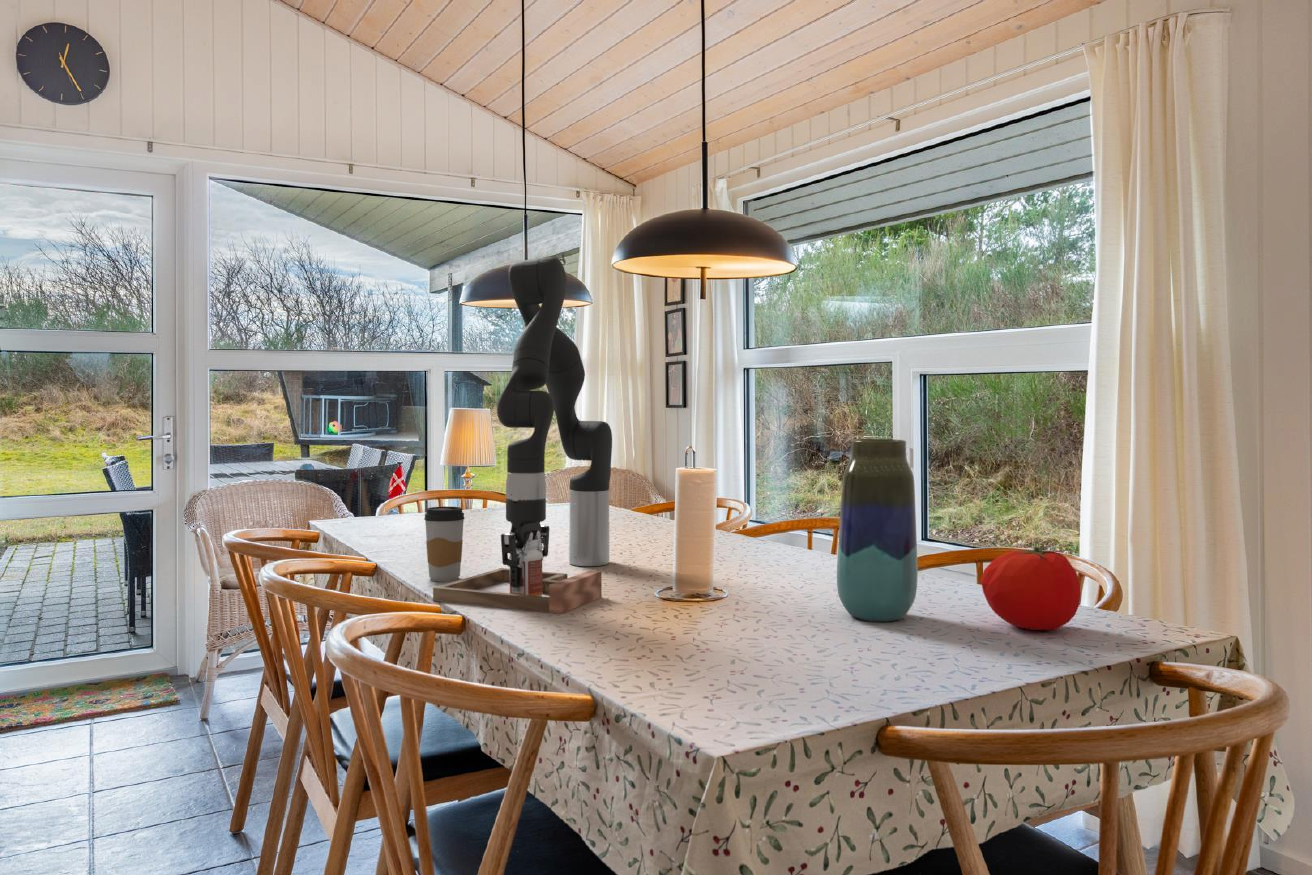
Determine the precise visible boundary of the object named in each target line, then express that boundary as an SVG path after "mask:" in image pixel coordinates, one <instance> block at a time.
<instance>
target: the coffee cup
mask: <svg viewBox="0 0 1312 875" xmlns="http://www.w3.org/2000/svg"><path fill="white" fill-rule="evenodd" d="M464 520H465V512H463V508H462V507H460V506H431V507H427V508H426V511H425V513H424V522H425V535H426V542H425V544H426V558H427V563H428V577H429V578H430V581H432V582H455V581H458V580H460V579H459V578H460V576H461V564H462V558H463V557H462V555H463V553H462V552H463V543H464V542H463V537H464V536H463V535H464Z"/></svg>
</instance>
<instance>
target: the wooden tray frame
mask: <svg viewBox="0 0 1312 875" xmlns="http://www.w3.org/2000/svg"><path fill="white" fill-rule="evenodd" d="M602 575H603V573H602V571H601V570H593V569H592V570H590V569H589V570H587V571H583V572H581V573H578V574H576V575H572V576H570V577H568V573H563V572H560V573H559V572H551V571H550V572H549V571H548V572H547V571H542V594H545V595H547V594H548V596H543V595H542V596H531V595H521V594H511V593H510V592H501V591H500V592H499V591H488V590H481V589H482V588H485V587H488V586H489V587H490V586H491V585H495V584H497V583H501V582H508V583H510V568H506V567H505V568H502V567H500V568H497V569H493V570H489V571H487V572H483V573H479V574H475V575H472V576H470V577H465V578H462V579H457V580H454V581H450V582H449V583H448V582H447V583H444V584H441V585H438V586H434V587H432V601H437V602H444V603H445V602H446V603H454V604H463V605H474V606H483V607H491V608H492V607H493V608H502V609H510V610H511V609H512V610H522V611H530V612H541V613H542V612H543V613H549V614H559V615H562V614H565V613H567V612H569V611H572V610H575V609H576V608H579V607H581V606H584V605H586V604H588V603H591V602H593V601H596V600H598V599H601V598H602V596H603V595H602V593H603V592H602V588H603V587H602V584H603V583H602V582H603V581H602V577H603V576H602Z"/></svg>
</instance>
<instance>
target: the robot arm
mask: <svg viewBox="0 0 1312 875" xmlns="http://www.w3.org/2000/svg"><path fill="white" fill-rule="evenodd" d="M566 273H567V272H566V269H565V267H564V264H563V263H562V261H561V260H560V258H558V257H556V256H554V257H553V256H546V257H538V258H530V259H524V260H518V261H515V262H513V263H512V264H511V265H510V266H509V268H508V281H509V287H510V291H511V294H512V296H513V299H514V302H515V303H516V306H517V308H518V311H519V313H520V316H521V318H522V320H523V322H524V325H525V328H524V330H523V331H522V332H521V334H520V335H519V337H518V339H517V340H516V343H515V348H514V352H513V358H512V359H513V360H512V367H511V372H510V375H509V377H508V379H507V383H506V385H505V387H504V388H503V390H502V392H501V394H500V396H499V399H498V401H497V407H496V414H497V418H498V420H499V422H500V423H501V425H502V426H504V427H506V428H511V429H512V428H514V429H515V428H517V429H518V428H519V429H521V428H522V429H523V428H525V429H532V428H533V430H534V431H533V433H532V434H531V435H530V436H529V437H528V438H525V439H520V440H514V441H512V442H510V443H509V444H508V446H507V451H506V455H507V458H506V459H507V460H506V464H507V466H506V468H507V469H506V470H507V471H506V472H507V473H506V480H505V481H506V482H505V519H506V521H507V522H510V524H511V527H510V532H508V533H501V535H500V542H501V543H500V544H501V546H500V547H501V558H502V561H501V562H502V565H503V566H507V567H509V569H510V582H509V586H510V585H511V587H516V588H519V587H522V568H521V567H522V564H523V560H524V557H525V556H527V553H528V549H529V543H530V542H531V541H532V540H533V539H538V547H537V550H538V551H540V552H541V554H542V562H543V561H544V557H548V555H549V544H550V543H549V541H550V526H549V525H541V523H542V522H544V521H545V520H546V518H547V483H546V482H547V481H546V474H545V470H546V469H545V467H546V466H545V465H546V464H545V462H546V460H545V454H546V445H547V438H548V434H549V430H550V428H551V427H550V426H551V423H552V420H553V417H554V416H555V419H556V424H557V428H558V432H559V433H558V434H559V438H560V441H561V445H562V449H563V452H564V453H565V455H566V457H568V458H569V459H570V460H573V461H586V462H587V461H589V462H591V463H590V466H589V468H588V469H587V470H586V471H584V472H583V473H581V474H578V475H577V474H576V475H574V476H572V477H571V478H570V479H569V539H568V540H569V545H568V546H569V549H568V550H569V554H568V555H569V556H568V558H569V559H568V560H569V564H570V565H572V566H576V567H577V566H578V567H579V566H580V567H597V566H605V565H608V564H609V563H610V480H611V472H612V454H613V453H612V452H613V433H612V429H611V426H610V425H609V423H608V422H606V421H602V420H601V421H599V420H580V419H579V418H578V417H577V413H576V407H575V406H576V402H577V400H578V397H579V395H580V394H581V393H580V392H581V390H582V388H583V385H584V383H585V378H586V373H585V372H586V371H585V368H584V367H585V366H584V364H583V361H582V357H581V354H580V351H579V348H578V346H577V345H576V343H575V342H574V341H573V340H572V339H571V338H570V337H569V336H568V335H567V334H566V333H565V332H563V331H562V330H561V329H560V328H559V327H558V323H559V319H560V316H561V312H562V308H563V306H564V301H565V298H566V293H567V284H568V283H567V274H566ZM544 386H546V389H547V391H544V390H538V389H540V388H542V387H544ZM516 548H520V549H522V550H516ZM508 555H509V556H508ZM517 555H519V557H518V561H517Z"/></svg>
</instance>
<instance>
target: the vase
mask: <svg viewBox="0 0 1312 875" xmlns="http://www.w3.org/2000/svg"><path fill="white" fill-rule="evenodd" d="M850 450H851V453H850V456H851V457H850V459H849V461H848V463H847V465H846V468H845V470H844V473H843V476H842V484H841V485H842V487H841V499H840V516H839V528H838V529H839V532H838V544H837V560H836V561H837V563H836V565H837V566H836V585H837V594H838V597H839V600H840V602H841V604H842V606H843V608H844V609H845V610H846V612H848V614H849V615H850V616H852V617H854V618H856V619H857V620H861V621H862V620H863V621H869V622H878V623H879V622H881V623H882V622H893V621H898V620H901V619H903V617H905V616H906V615H907V614H908V612H909V611H910V610H911V608H912V606H913V604H914V602H915V601H916V600H915V599H916V596H917V591H918V590H917V589H918V574H919V573H918V572H919V571H918V569H919V568H918V543H917V542H918V539H917V513H916V494H915V493H916V491H915V490H916V489H915V477H914V474H913V470H912V469H911V466H910V464H909V462H908V459H907V442H906V440H904V439H889V438H888V439H887V438H883V439H882V438H859V439H858V438H857V439H852V440H851V449H850Z"/></svg>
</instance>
